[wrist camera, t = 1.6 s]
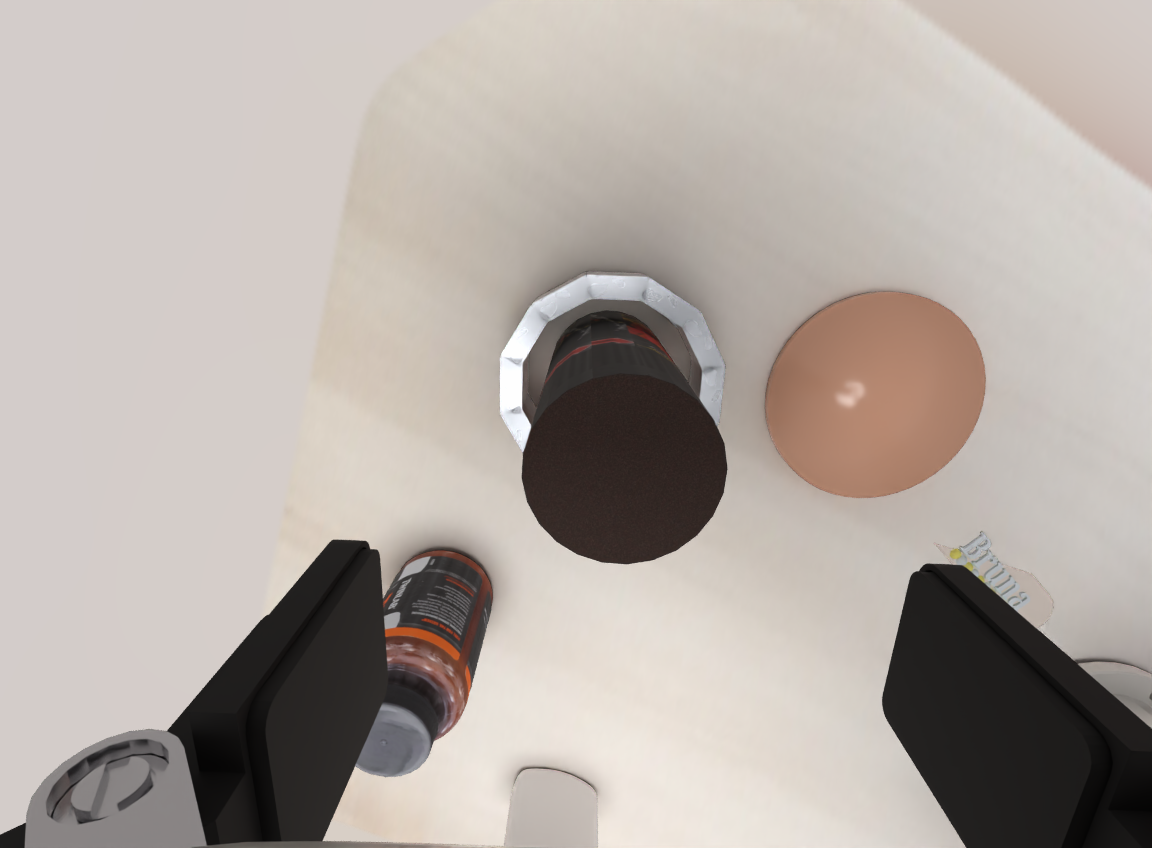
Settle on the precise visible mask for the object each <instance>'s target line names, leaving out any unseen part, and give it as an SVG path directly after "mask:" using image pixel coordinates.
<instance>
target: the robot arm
mask: <svg viewBox="0 0 1152 848" xmlns="http://www.w3.org/2000/svg"><path fill="white" fill-rule="evenodd" d="M387 686H388V666H387V651H386V637H385V623H384V608H383V594H382V580H381V566H380V555H379V552H378V550H374V549H370V547H369V544H368V542H367V541H356V540H332V541H331V542H330V543H329V544H328V545H327V546H326V547H325V549H324V550H323V551H322V552H321V553H320V555H319V556H318V557H317V558H316V559H315V560H314V562H313V563H312V564H311V565H310V566H309V568H308V569H307V570H306V571H305V572H304V574H303V575H302V576H301V577H300V578H299V580H298V581H297V582H296V583H295V584H294V586H293V587H292V588H291V589H290V590H289V591H288V593H287V594H286V595H285V596H284V597H283V599H282V600H281V601H280V602H279V603H278V605H277V606H276V607H275V608H274V609H273V611H272V612H271V613H270V614H269V615H266V616H265V617H264V618H263V619H262V620H261V621H260V622H259V623H258V624H257V625H256V627H255V628H254V629H253V630H252V631H251V633H250V634H249V635H248V636H247V637H246V638H245V640H244V641H243V642H242V643H241V644H240V645H239V647H238V648H237V649H236V650H235V651H234V653H233V654H232V655H231V656H230V657H229V658H228V660H227V661H226V662H225V663H224V664H223V665H222V667H221V668H220V669H219V670H218V671H217V673H216V674H215V675H214V676H213V678H211V680H210V681H209V682H208V683H207V685H206V686H205V687H204V688H203V689H202V690H201V692H200V693H199V694H198V695H197V696H196V698H195V699H194V700H193V701H192V702H191V703H190V705H189V706H188V707H187V708H186V709H185V710H184V711H183V713H182V714H181V715H180V716H179V717H178V719H177V720H176V721H175V722H174V723H173V724H172V726H171V727H170V728H169V729H168V731H162V730H153V729H146V730H138V731H129V732H126V733H123V734H120V735H116V736H113V737H110V738H107V739H104V740H102V741H100V742H98V743H96V744H94V745H92V746H89V747H87V748H85V749H83V750H82V751H80V752H79V753H77V754H76V755H74V756H73V757H71V758H70V759H68V760H67V761H65V762H64V763H62V764H61V765H60V766H59V767H58V768H57V769H56V770H54V771H53V772H52V773H51V774H50V775H49V776H48V777H47V778H46V779H45V780H44V781H43V782H42V784H41V785H40V786H39V788H38V789H37V791H36V792H35V793H34V795H33V796H32V798H31V801H30V804H29V807H28V811H27V815H26V823H24V824H22V825H20V826H18V827H16V828H14V829H11V830H10V831H7V832H5V833H3V834H1V835H0V848H541V847H514V846H486V845H458V844H430V843H391V842H351V841H323V838H324V836H325V834H326V831H327V829H328V827H329V825H330V822H331V820H332V818H333V815H334V813H335V811H336V809H337V806H338V804H339V802H340V799H341V797H342V795H343V792H344V790H345V788H346V786H347V783H348V781H349V779H350V776H351V774H352V772H353V770H354V767H355V765H356V763H357V760H358V758H359V756H360V754H361V751H362V749H363V747H364V744H365V742H366V740H367V737H368V735H369V733H370V731H371V728H372V726H373V724H374V721H375V719H376V717H377V715H378V712H379V710H380V708H381V705H382V703H383V701H384V698H385V695H386V691H387ZM882 706H883V711H884V714H885V717H886V719H887V721H888V723H889V724H890V726H891V727H892V729H893V731H894V732H895V734H896V736H897V737H898V739H899V740H900V742H901V744H902V745H903V747H904V748H905V750H906V752H907V753H908V755H909V756H910V758H911V760H912V761H913V763H914V764H915V766H916V768H917V769H918V771H919V772H920V774H921V776H922V777H923V779H924V780H925V782H926V784H927V785H928V787H929V788H930V790H931V792H932V793H933V795H934V796H935V798H936V800H937V801H938V803H939V805H940V806H941V808H942V809H943V811H944V813H945V814H946V816H947V817H948V819H949V821H950V822H951V824H952V825H953V827H954V829H955V830H956V832H957V833H958V835H959V837H960V838H961V840H962V841H963V843H964V845H965V846H966V848H1152V674H1150V673H1148V672H1146V671H1144V670H1141V669H1139V668H1137V667H1134V666H1130V665H1125V664H1120V663H1116V662H1088V663H1079V664H1077V663H1076V662H1075V661H1073V660H1072V659H1071V658H1070V657H1069V656H1068V655H1067V654H1065V653H1064V652H1063V651H1062V650H1061V649H1060V648H1058V647H1057V646H1056V645H1055V644H1054V643H1053V642H1052V641H1050V640H1049V639H1048V638H1047V637H1046V636H1045V635H1044V634H1042V633H1041V632H1040V631H1039V630H1038V629H1037V628H1035V627H1034V626H1033V625H1032V624H1031V623H1030V622H1029V621H1027V620H1026V619H1025V618H1024V617H1023V616H1022V615H1020V614H1019V613H1018V612H1017V611H1016V610H1015V609H1014V608H1012V607H1011V606H1010V605H1009V604H1008V603H1007V602H1006V601H1004V600H1003V599H1002V598H1001V597H1000V596H999V595H997V594H996V593H995V592H994V591H993V590H992V589H991V588H989V587H988V586H987V585H986V584H985V583H984V582H982V581H981V580H980V579H979V578H978V577H977V576H976V575H974V574H973V573H972V572H971V571H970V570H969V569H968V568H966V567H964V566H963V565H950V564H925V565H923V566H922V568H921V569H920V571H919V572H918V571H916V572H914V573H913V574H912V575H911V577H910V580H909V584H908V589H907V593H906V597H905V602H904V606H903V610H902V614H901V619H900V623H899V627H898V632H897V636H896V640H895V645H894V649H893V653H892V657H891V662H890V666H889V670H888V675H887V679H886V683H885V687H884V692H883V697H882Z"/></svg>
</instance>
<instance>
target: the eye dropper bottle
mask: <svg viewBox="0 0 1152 848" xmlns="http://www.w3.org/2000/svg"><path fill="white" fill-rule="evenodd" d="M504 846H514V847H541V848H598V816H597V794H596V792H595V790H594V789H593V788H592V787H591V786H590V785H589V784H587V783H586V782H584V781H582V780H581V779H579V778H577V777H575V776H572V775H570V774H567V773H564V772H561V771H557V770H551V769H537V768H535V769H526V770H523V771H522V772H521V773H520V774H519V775H518V777H517V779H516V781H515V784H514V786H513V789H512V792H511V799H510V806H509V813H508V820H507V827H506V835H505V842H504Z"/></svg>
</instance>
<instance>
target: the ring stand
mask: <svg viewBox="0 0 1152 848" xmlns="http://www.w3.org/2000/svg"><path fill="white" fill-rule="evenodd" d="M590 299H608V300H633V301H642V302H644V303H645V304H647V305H648V306H650V307H651V308H653V309H655V310H656V311H658V312H659V313H661V314H662V315H664V316H665V317H667V318H668V319H669V320H670V322H671V323H672V324H673V325H674V326H675V327H676V328H678V331H679V333H680V335H681V337H682V339H683V341H684V343H685V345H686V347H687V349H688V352H689V354H690V356H691V368H690V378H689V385H690V386H691V388H692V389H693V391H694V392H695V393H696V395H697V396H698V398H699V399H700V401H701V402H702V403H703V405H704V406H705V408H706V409H707V411H708V412H709V413H710V415H711V416H712V418H713V419H714V421H715V423H716V426H718V425H719V424H718V423H719V421H720V413H721V404H722V395H723V387H724V378H725V369H726V366H725V363H724V360H723V358H722V356H721V354H720V352H719V350H718V347H717V345H716V343H715V341H714V339H713V337H712V334H711V332H710V330H709V328H708V326H707V324H706V321H705V319H704V317H703V315H702V313H701V312H700V310H698V309H697V308H695V307H694V306H692V305H691V304H689V303H688V302H686V301H684V300H683V299H681V298H680V297H678V296H677V295H675V294H674V293H672V292H671V291H669V290H668V289H666V288H665V287H663V286H662V285H660V284H659V283H657V282H656V281H654V280H653V279H651V278H650V277H648V276H647V275H645V274H643V273H623V272H599V271H587V273H586V271H585V272H584V273H582V274H580V275H578V276H576V277H574V278H573V279H571V280H569V281H567V282H565V283H563V284H561V285H560V286H558V287H556V288H554V289H552V290H549V291H548V292H547V293H545V294H543V295H541V296H539V297H537V299H536V300H535V301H534V302H533V303H532V304H531V305H530V307H529V309H528V310H527V312H526V314H525V315H524V317H523V319H522V320H521V322H520V324H519V325H518V327H517V329H516V330H515V332H514V334H513V335H512V337H511V339H510V340H509V342H508V344H507V345H506V347H505V349H504V350H503V352H502V354H501V356H500V413H501V417H502V418H503V420H504V422H505V424H506V425H507V427H508V429H509V430H510V432H511V434H512V435H513V437H514V439H515V441H516V442H517V444H518V446H519V447H520V449H521V451H522V453H523V452H524V449H525V445H526V442H527V439H528V435H529V432H530V429H531V425H532V422H533V419H534V416H535V412H536V409H537V408H536V406H535V404H534V402H533V401H532V399H531V397H530V395H529V394H528V380H529V352H530V350H531V348H532V347H533V345H534V344H535V342H536V340H537V339H538V337H539V335H540V334H541V332H542V330H543V329H544V327H545V326H546V324H547V322H549V321H551V320H553V319H554V318H556V317H558V316H560V315H562V314H564V313H566V312H568V311H569V310H571V309H573V308H575V307H577V306H579V305H581V304H583V303H584V302H586V301H588V300H590Z"/></svg>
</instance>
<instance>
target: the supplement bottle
mask: <svg viewBox="0 0 1152 848" xmlns="http://www.w3.org/2000/svg"><path fill="white" fill-rule="evenodd" d="M492 600H493V594H492V588H491V585H490V582H489V580H488V578H487V576H486V574H485V573H484V571H483V570H482V569H481V567H480V566H478V565H477V564H476V563H475V562H474V561H472V560H471V559H469V558H467V557H465V556H463V555H461V554H458V553H456V552H451V551H444V550H436V551H430V552H426V553H423V554H420V555H418V556H416V557H414V558H412V559H411V560H409V561H408V562H407V563H406V564H405V565H404V566H403V567H402V569H401V570H400V572H399V573H398V574H397V575H396V577H395V579H394V581H393V583H392V584H391V586H390V588H389V590H388V591H387V593H386V595H385V597H384V598H383V608H384V623H385V637H386V651H387V666H388V686H387V691H386V695H385V698H384V701H383V703H382V705H381V708H380V710H379V712H378V715H377V717H376V719H375V721H374V724H373V726H372V728H371V731H370V733H369V735H368V737H367V740H366V742H365V744H364V747H363V749H362V751H361V754H360V756H359V758H358V760H357V763H356V765H355V766H356V767H357V768H359V769H360V770H362V771H364V772H367V773H369V774H373V775H378V776H384V777H396V776H402V775H405V774H408V773H411V772H413V771H414V770H416V769H418V768H419V767H420V766H421V765H422V764H423V763H424V762H425V761H426V759H427V758H428V756H429V753H430V751H431V748H432V744H433V742H434V741H435V740H437V739H439V738H441V737H442V736H444V735H445V734H446V733H448V732H449V731H450V730H451V729H452V728H453V727H454V726H455V725H456V723H457V722H458V720H459V719H460V717H461V715H462V713H463V711H464V709H465V706H466V704H467V700H468V696H469V692H470V689H471V687H472V682H473V678H474V675H475V671H476V667H477V663H478V659H479V655H480V651H481V648H482V644H483V640H484V636H485V632H486V628H487V624H488V621H489V616H490V613H491V606H492Z"/></svg>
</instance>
